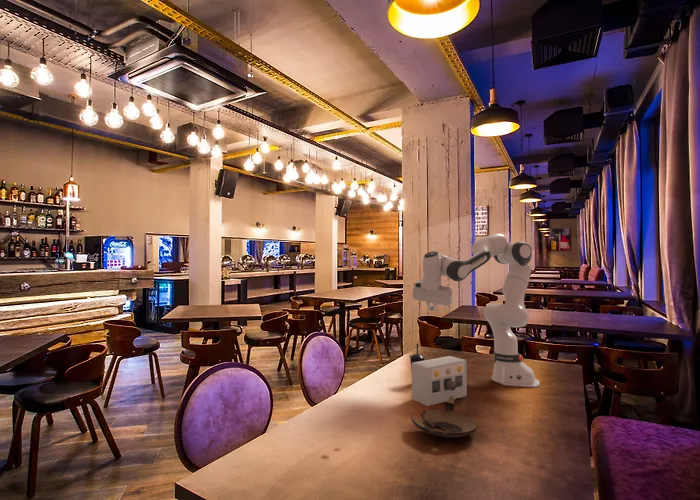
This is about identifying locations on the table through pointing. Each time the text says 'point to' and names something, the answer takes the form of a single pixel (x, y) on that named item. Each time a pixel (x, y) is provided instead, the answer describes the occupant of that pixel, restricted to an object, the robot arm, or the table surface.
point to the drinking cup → (416, 357)
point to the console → (438, 379)
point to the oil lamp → (446, 421)
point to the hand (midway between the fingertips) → (432, 310)
